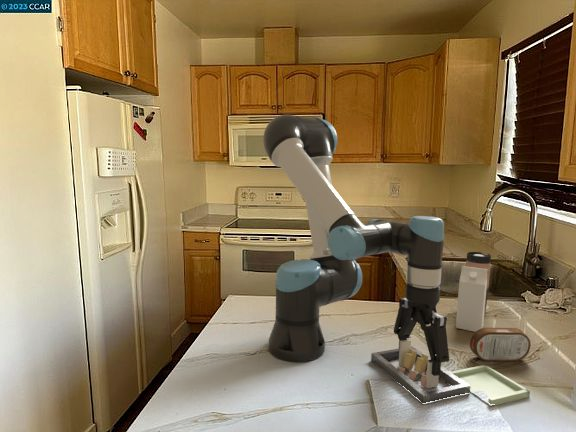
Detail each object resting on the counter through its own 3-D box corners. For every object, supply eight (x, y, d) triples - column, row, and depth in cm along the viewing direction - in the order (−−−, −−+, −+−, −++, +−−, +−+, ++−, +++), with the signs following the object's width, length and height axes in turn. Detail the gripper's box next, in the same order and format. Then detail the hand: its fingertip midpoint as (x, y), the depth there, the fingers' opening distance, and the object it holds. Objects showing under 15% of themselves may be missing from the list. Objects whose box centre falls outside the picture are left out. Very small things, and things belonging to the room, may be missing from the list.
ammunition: (412, 347, 99) (396, 358, 94) (441, 357, 94) (427, 370, 89) (410, 365, 100) (395, 377, 94) (440, 376, 95) (425, 390, 89)
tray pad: (491, 406, 83) (491, 400, 83) (449, 377, 94) (449, 371, 94) (529, 396, 87) (529, 390, 87) (484, 370, 98) (485, 364, 98)
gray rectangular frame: (423, 405, 83) (423, 396, 83) (371, 360, 102) (371, 353, 101) (469, 394, 88) (470, 385, 87) (411, 353, 106) (412, 346, 106)
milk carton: (459, 320, 129) (463, 263, 127) (483, 325, 126) (488, 267, 123) (455, 328, 123) (460, 268, 121) (481, 333, 120) (486, 272, 117)
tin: (523, 357, 106) (526, 326, 104) (531, 362, 102) (534, 331, 101) (467, 356, 105) (470, 326, 104) (473, 362, 102) (476, 331, 101)
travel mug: (464, 312, 136) (469, 255, 134) (460, 305, 144) (464, 251, 141) (488, 315, 135) (494, 257, 132) (483, 307, 142) (488, 252, 139)
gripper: (473, 297, 83) (465, 398, 86) (406, 270, 103) (401, 352, 106) (444, 301, 80) (437, 404, 83) (381, 272, 101) (377, 356, 103)
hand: (417, 375), depth 94 cm, fingers open, 9 cm apart
